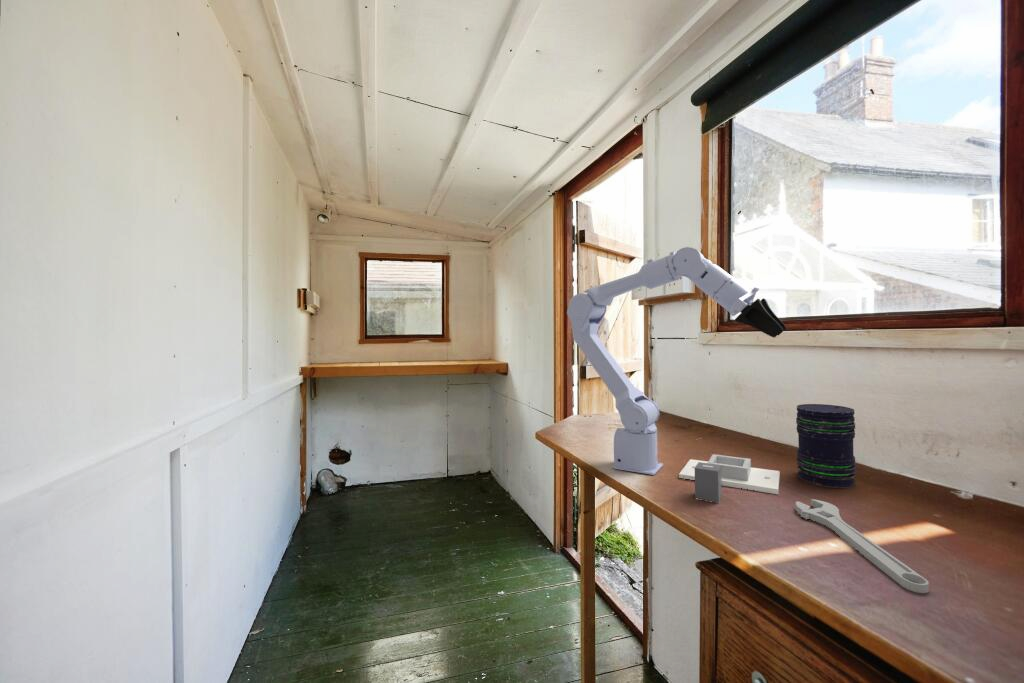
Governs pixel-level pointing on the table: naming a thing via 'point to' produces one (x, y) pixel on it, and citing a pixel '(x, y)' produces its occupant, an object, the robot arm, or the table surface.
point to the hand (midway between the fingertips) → (780, 332)
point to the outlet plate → (738, 474)
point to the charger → (708, 482)
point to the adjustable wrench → (864, 545)
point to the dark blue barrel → (826, 445)
